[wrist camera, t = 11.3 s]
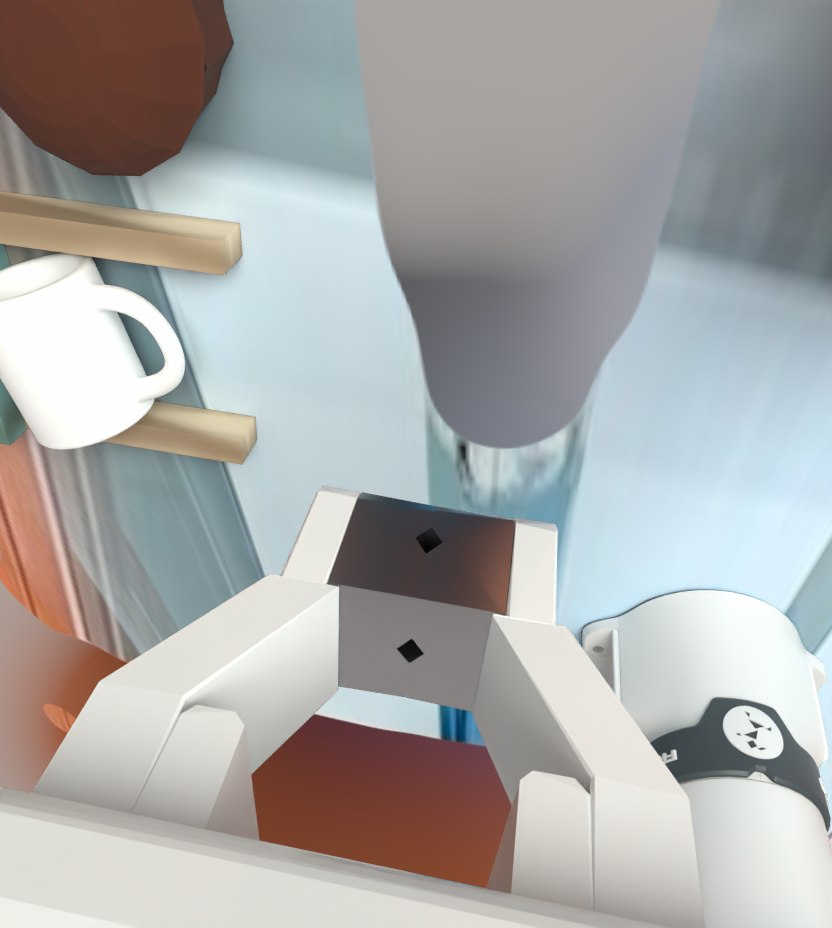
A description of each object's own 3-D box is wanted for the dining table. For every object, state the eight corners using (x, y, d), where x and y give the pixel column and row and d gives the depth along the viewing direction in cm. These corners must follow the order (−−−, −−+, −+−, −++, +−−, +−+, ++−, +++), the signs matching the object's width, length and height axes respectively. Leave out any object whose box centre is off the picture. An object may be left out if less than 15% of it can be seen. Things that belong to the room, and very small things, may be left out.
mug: (78, 389, 54) (13, 454, 48) (9, 259, 48) (-76, 313, 42) (227, 376, 51) (178, 443, 45) (171, 235, 45) (107, 290, 39)
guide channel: (256, 439, 54) (232, 482, 50) (25, 402, 55) (-17, 440, 51) (239, 223, 44) (207, 255, 40) (-42, 185, 45) (-100, 212, 42)
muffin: (32, -154, 34) (-127, -168, 27) (262, -92, 34) (170, -87, 26) (57, 113, 42) (-62, 164, 34) (246, 165, 42) (171, 228, 34)
